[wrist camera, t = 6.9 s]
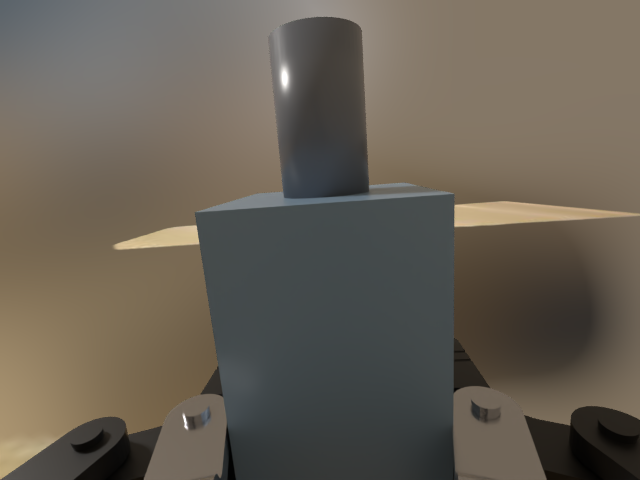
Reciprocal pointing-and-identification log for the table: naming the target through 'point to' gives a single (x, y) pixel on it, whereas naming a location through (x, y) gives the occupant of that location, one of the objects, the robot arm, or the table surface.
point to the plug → (332, 290)
